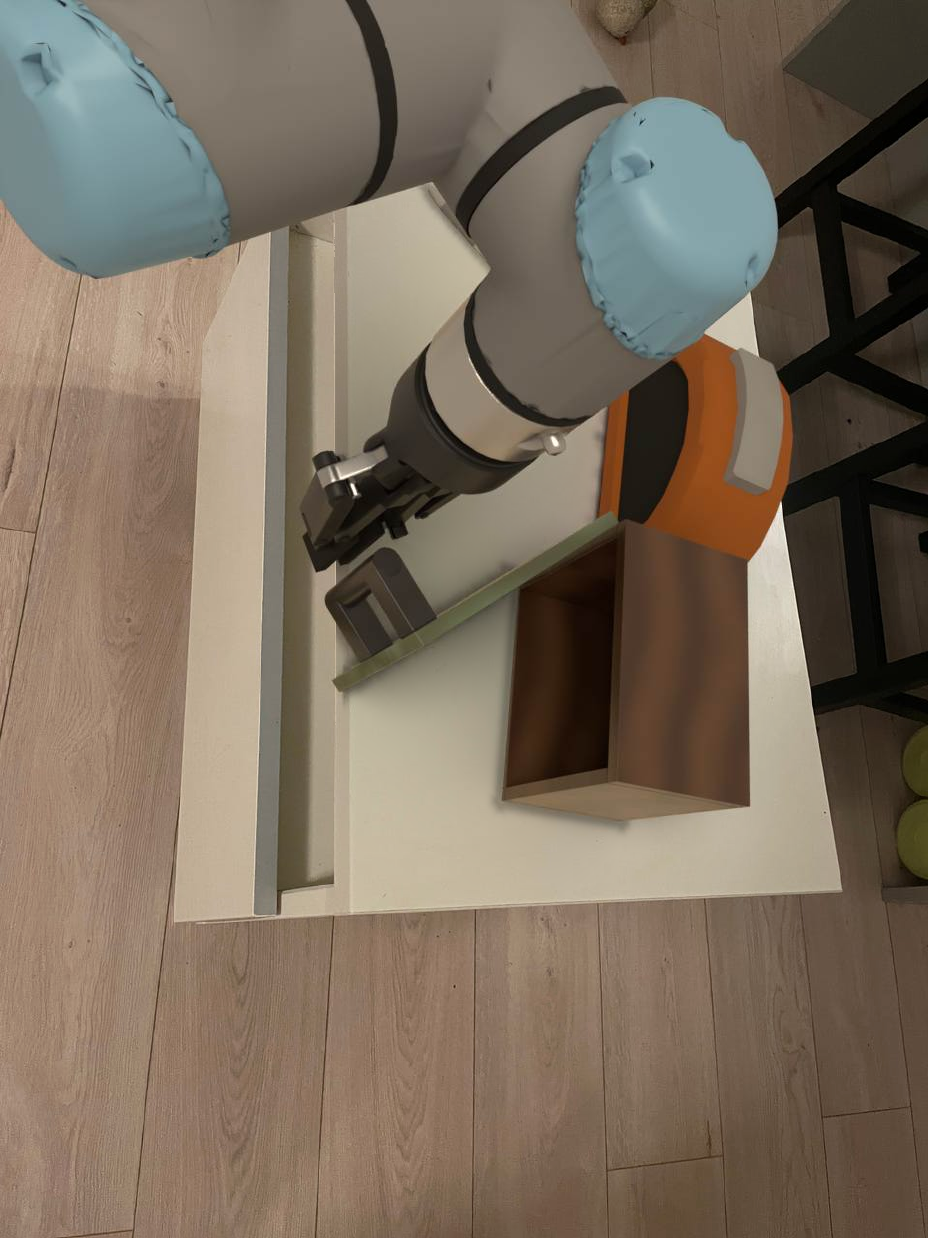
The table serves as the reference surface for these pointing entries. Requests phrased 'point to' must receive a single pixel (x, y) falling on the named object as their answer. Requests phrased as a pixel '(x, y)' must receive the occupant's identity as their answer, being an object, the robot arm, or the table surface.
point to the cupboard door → (421, 602)
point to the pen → (451, 216)
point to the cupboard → (631, 680)
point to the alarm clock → (701, 449)
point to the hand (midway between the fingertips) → (326, 549)
